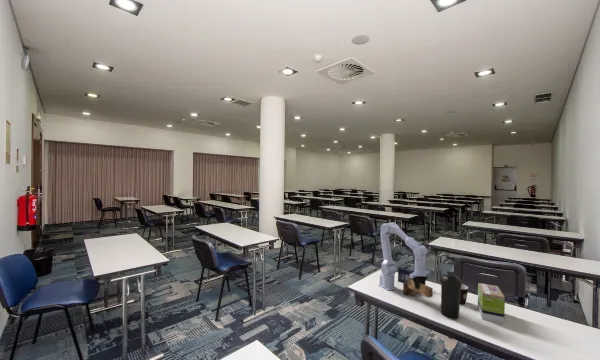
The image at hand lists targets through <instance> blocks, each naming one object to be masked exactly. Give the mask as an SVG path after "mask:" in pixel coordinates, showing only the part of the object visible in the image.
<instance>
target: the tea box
mask: <svg viewBox="0 0 600 360" xmlns="http://www.w3.org/2000/svg"><path fill="white" fill-rule="evenodd" d="M503 293H504V292H502V290H501V289H500V287H499V286H498V285H495V284H494V285H493V284H489V283H488V284H487V283H480V282H478V283H477V309H478V311H479V314H480V317H481V319H482V320H485V321H489V322H494V323H497V324H505V309H506V308H505V307H506V306H505V305H506V304H505V303H506V297H505V295H504V294H503Z"/></svg>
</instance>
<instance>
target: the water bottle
mask: <svg viewBox="0 0 600 360" xmlns="http://www.w3.org/2000/svg"><path fill="white" fill-rule="evenodd" d="M462 284H463V281H462V279H461V278H460V277H458V276H457V275H456V272H453V271H446V273H445V274H443V275H442V276H440V286H441V289H440V299H441V300H440V301H441V303H440V304H441V306H440V308H441V309H440V310H441V312H440V314H441V315H442V316H443V317H445V318H447V319H450V320H458V319H459V318H460V308H461V307H460V306H461V305H460V294H461V286H462Z"/></svg>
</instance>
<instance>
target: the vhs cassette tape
mask: <svg viewBox="0 0 600 360" xmlns="http://www.w3.org/2000/svg"><path fill="white" fill-rule="evenodd" d="M413 272H415V270H410V269H408V268H404V267H400V266H399V267H397V282H399V283H402V284H403V283H406V282H407V279H409V278H410V274H412V273H413ZM411 279H412V278H411ZM424 285H426V283H425V284H424Z"/></svg>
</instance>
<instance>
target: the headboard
mask: <svg viewBox="0 0 600 360" xmlns="http://www.w3.org/2000/svg"><path fill="white" fill-rule="evenodd" d="M402 285H403V287H402V294H403V295H409V296H412V297H415V296H416V293H418V292H416V291H414V290H412V289H410V288H408V287H407V282H406V283H402ZM418 295H421V294H420V293H418Z"/></svg>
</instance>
